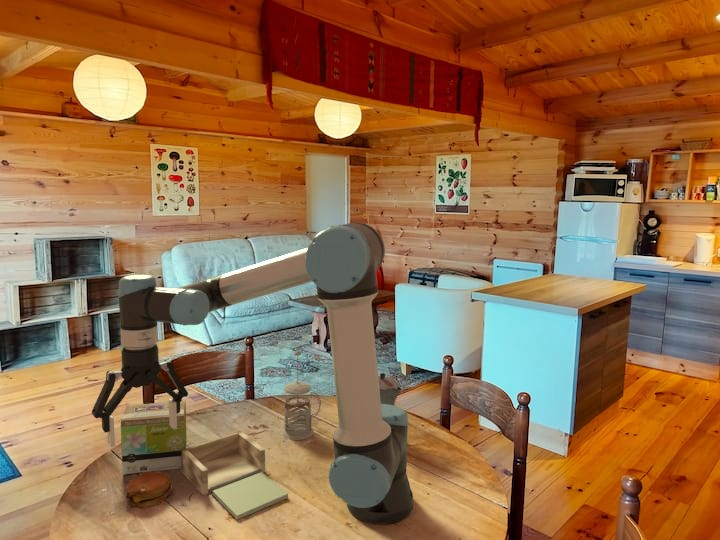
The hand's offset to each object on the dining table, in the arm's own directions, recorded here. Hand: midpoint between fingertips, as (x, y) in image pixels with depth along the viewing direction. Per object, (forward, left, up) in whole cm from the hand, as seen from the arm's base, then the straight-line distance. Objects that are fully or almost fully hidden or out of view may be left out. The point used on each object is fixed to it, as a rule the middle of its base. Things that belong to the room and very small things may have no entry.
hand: (143, 435), depth 117 cm
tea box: (+14, -7, -15) cm, 22 cm away
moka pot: (-12, -61, -15) cm, 64 cm away
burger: (0, -1, -16) cm, 16 cm away
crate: (-1, -19, -15) cm, 24 cm away
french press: (+5, -46, -15) cm, 49 cm away
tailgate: (-14, -19, -15) cm, 28 cm away
